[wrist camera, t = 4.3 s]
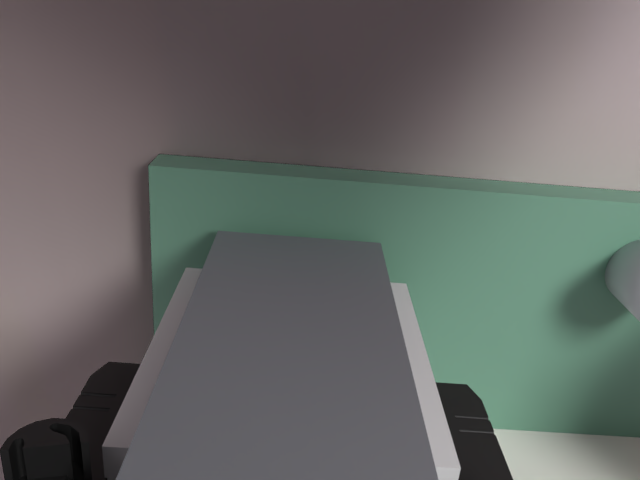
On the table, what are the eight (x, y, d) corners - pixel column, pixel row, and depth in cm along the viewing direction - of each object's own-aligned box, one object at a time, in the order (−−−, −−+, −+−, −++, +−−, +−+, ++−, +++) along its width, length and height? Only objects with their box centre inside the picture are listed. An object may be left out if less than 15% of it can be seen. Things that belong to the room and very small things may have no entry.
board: (159, 154, 16) (126, 189, 14) (704, 196, 17) (785, 238, 14) (170, 587, 24) (149, 672, 21) (557, 606, 24) (591, 691, 21)
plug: (218, 230, 16) (75, 578, 6) (380, 242, 16) (468, 599, 7) (215, 375, 17) (102, 804, 8) (361, 385, 18) (407, 816, 8)
